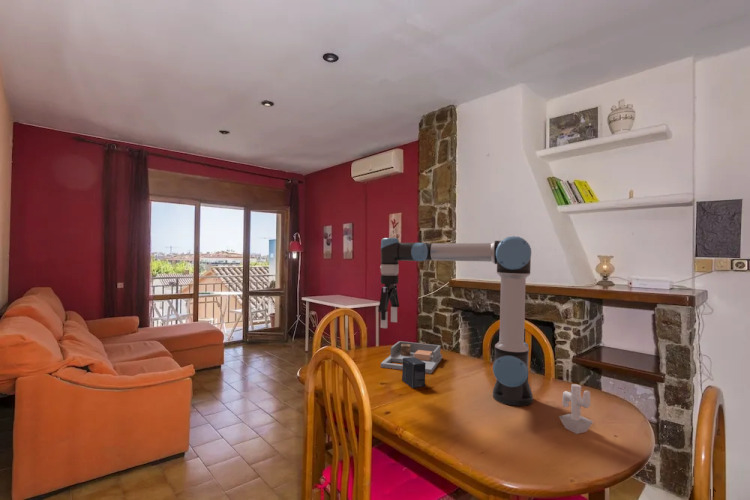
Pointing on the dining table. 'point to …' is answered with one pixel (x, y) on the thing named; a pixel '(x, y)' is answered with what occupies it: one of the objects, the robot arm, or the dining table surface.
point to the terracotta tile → (423, 355)
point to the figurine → (576, 410)
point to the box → (413, 372)
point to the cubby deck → (414, 347)
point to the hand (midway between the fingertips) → (389, 324)
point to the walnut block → (405, 349)
